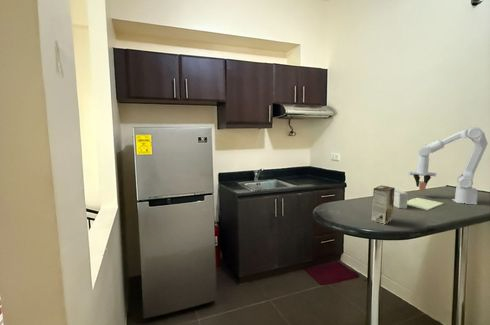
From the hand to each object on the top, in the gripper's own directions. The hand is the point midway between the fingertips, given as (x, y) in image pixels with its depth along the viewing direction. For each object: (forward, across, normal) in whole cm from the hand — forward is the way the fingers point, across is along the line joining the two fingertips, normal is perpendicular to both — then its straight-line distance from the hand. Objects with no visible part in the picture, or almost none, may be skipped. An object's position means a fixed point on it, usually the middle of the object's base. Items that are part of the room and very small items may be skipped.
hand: (421, 186), depth 163 cm
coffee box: (+7, +31, +56) cm, 64 cm away
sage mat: (+6, +4, +18) cm, 20 cm away
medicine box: (+7, +18, +28) cm, 34 cm away
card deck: (+1, 0, 0) cm, 1 cm away
